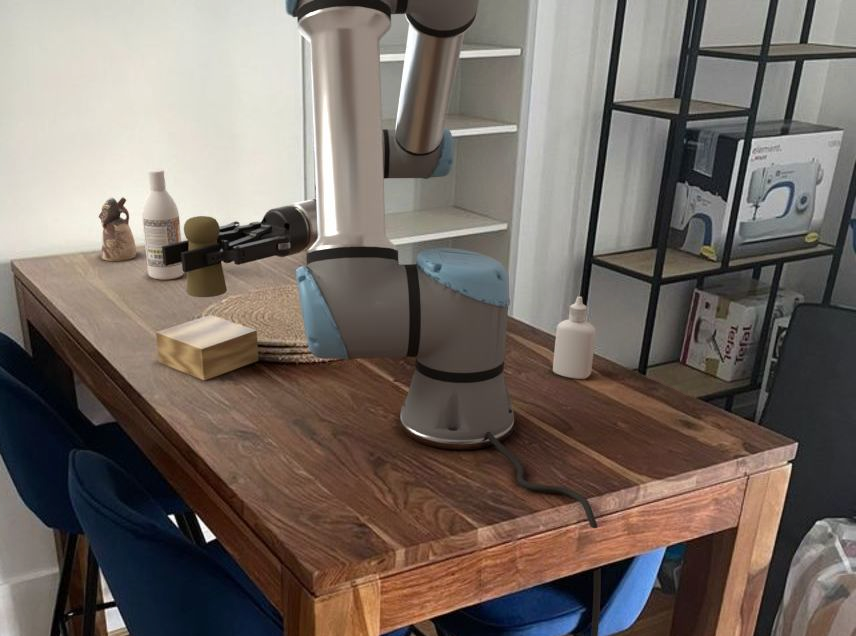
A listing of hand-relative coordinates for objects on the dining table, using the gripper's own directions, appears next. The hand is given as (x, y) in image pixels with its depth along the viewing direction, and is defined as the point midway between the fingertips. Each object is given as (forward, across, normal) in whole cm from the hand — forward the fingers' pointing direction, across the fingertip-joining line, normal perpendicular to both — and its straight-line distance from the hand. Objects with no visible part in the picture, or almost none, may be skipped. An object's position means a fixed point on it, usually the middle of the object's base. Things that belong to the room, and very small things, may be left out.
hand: (174, 259), depth 147 cm
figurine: (-29, +61, -18) cm, 70 cm away
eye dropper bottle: (-40, -43, -18) cm, 61 cm away
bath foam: (-28, +43, -18) cm, 54 cm away
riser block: (-5, 0, -17) cm, 18 cm away
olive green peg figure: (-5, 0, -6) cm, 8 cm away
